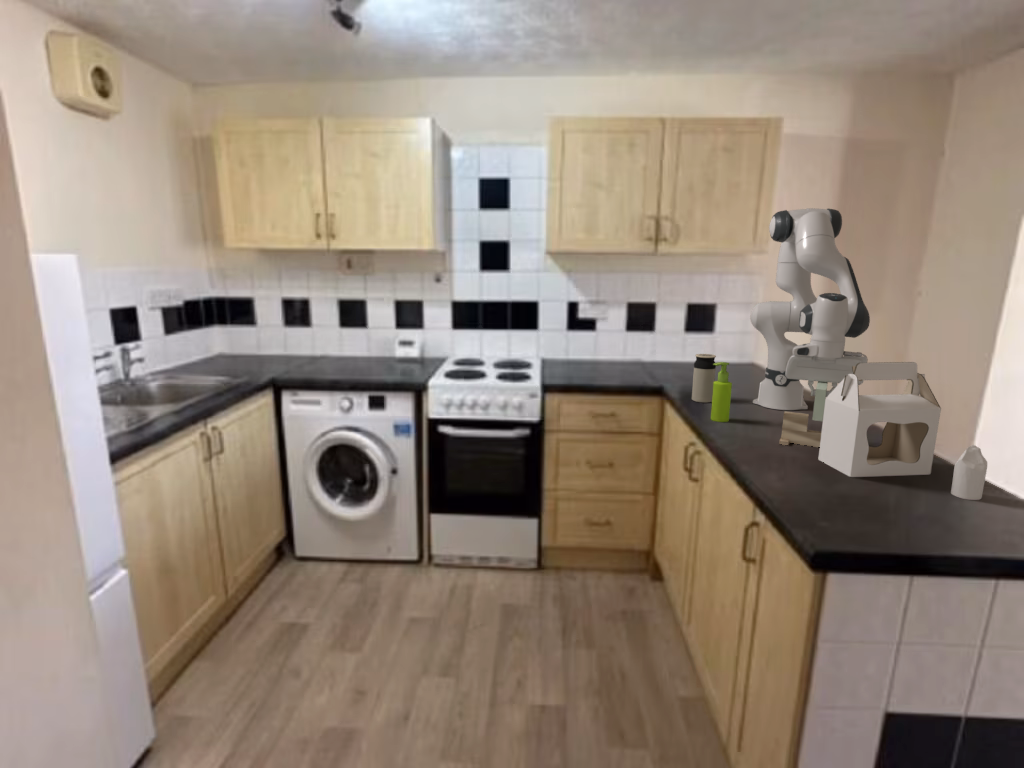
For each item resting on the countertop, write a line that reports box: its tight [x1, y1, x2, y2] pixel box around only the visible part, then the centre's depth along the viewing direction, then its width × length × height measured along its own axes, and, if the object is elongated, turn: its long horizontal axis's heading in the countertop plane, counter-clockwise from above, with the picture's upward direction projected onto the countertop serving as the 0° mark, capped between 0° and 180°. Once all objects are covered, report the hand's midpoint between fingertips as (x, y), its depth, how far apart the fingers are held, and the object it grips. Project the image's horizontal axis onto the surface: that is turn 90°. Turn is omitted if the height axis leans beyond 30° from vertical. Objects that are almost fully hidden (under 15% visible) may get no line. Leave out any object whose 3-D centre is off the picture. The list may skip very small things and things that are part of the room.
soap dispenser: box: [710, 361, 733, 423], centre depth 191 cm, size 6×7×20 cm
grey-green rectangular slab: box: [811, 381, 829, 422], centre depth 163 cm, size 14×2×9 cm, turn 150°
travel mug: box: [691, 353, 717, 404], centre depth 219 cm, size 8×8×18 cm
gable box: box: [817, 361, 942, 478], centre depth 146 cm, size 22×13×28 cm, turn 95°
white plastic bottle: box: [950, 444, 988, 501], centre depth 129 cm, size 6×12×6 cm
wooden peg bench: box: [778, 410, 822, 448], centre depth 165 cm, size 8×18×9 cm, turn 60°
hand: (821, 396), depth 167 cm, fingers closed on grey-green rectangular slab, 2 cm apart
